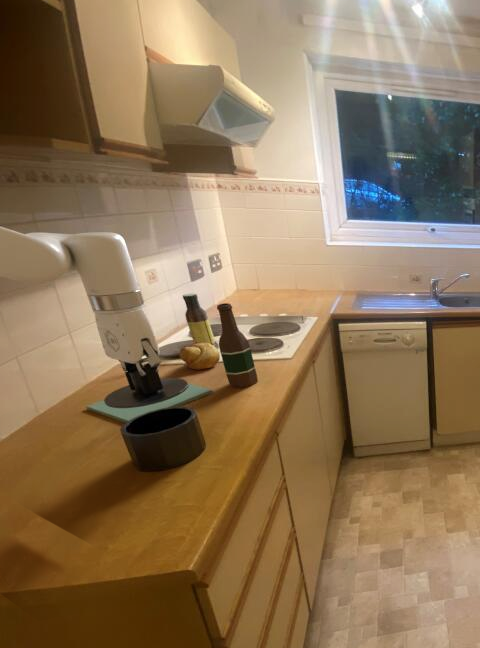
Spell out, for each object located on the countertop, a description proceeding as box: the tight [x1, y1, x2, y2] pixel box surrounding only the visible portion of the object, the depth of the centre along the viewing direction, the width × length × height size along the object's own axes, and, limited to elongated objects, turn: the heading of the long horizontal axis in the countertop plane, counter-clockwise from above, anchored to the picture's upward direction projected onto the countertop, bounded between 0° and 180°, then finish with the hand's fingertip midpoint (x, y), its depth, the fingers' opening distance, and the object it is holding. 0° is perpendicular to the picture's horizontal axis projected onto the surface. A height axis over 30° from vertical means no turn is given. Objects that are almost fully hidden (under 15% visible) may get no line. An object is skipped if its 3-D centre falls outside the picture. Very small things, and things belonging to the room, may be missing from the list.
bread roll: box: [178, 343, 221, 370], centre depth 141 cm, size 13×10×8 cm
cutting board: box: [85, 382, 214, 424], centre depth 118 cm, size 20×20×1 cm
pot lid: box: [103, 368, 188, 408], centre depth 88 cm, size 13×13×6 cm
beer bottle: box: [216, 302, 259, 389], centre depth 124 cm, size 8×8×24 cm
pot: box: [119, 406, 207, 473], centre depth 93 cm, size 13×13×8 cm
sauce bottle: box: [182, 292, 217, 347], centre depth 152 cm, size 6×6×20 cm
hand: (147, 388), depth 88 cm, fingers closed on pot lid, 3 cm apart
